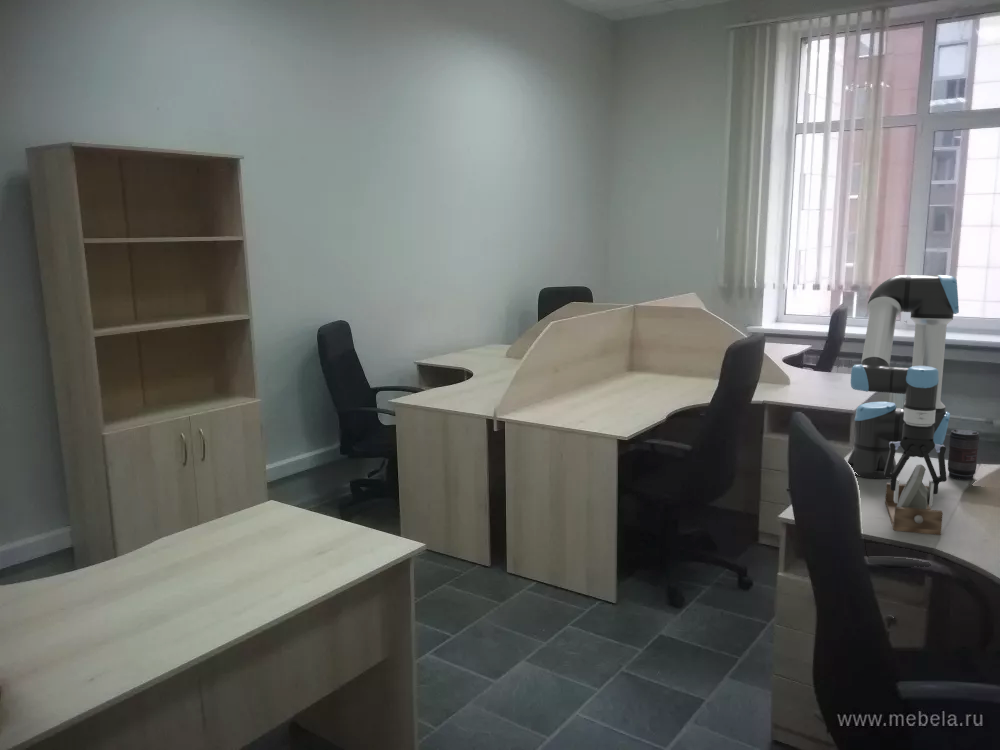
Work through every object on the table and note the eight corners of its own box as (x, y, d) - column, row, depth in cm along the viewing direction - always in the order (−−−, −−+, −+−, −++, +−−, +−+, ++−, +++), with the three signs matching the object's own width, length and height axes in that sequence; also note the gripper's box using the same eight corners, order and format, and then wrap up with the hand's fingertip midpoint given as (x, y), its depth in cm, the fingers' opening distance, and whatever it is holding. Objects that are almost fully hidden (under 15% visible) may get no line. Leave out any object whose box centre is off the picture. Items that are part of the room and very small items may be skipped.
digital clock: (903, 496, 221) (905, 460, 219) (937, 503, 215) (940, 466, 213) (883, 511, 210) (886, 474, 208) (919, 519, 204) (922, 480, 202)
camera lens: (975, 475, 247) (980, 430, 245) (975, 482, 241) (979, 436, 238) (947, 471, 252) (950, 427, 249) (945, 478, 245) (949, 433, 242)
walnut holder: (926, 505, 222) (928, 485, 221) (941, 536, 200) (943, 514, 199) (884, 501, 226) (886, 481, 225) (894, 531, 204) (896, 509, 203)
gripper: (878, 424, 208) (872, 503, 212) (965, 429, 201) (957, 511, 205) (875, 417, 215) (870, 495, 219) (959, 422, 208) (952, 502, 212)
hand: (912, 503), depth 212 cm, fingers closed on digital clock, 8 cm apart
